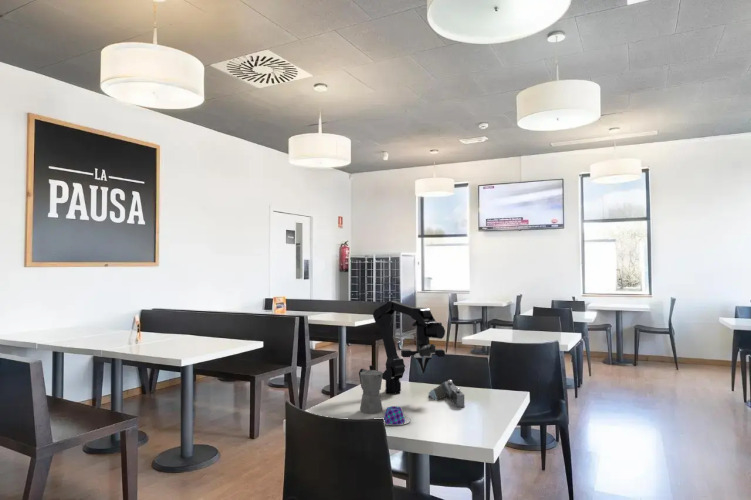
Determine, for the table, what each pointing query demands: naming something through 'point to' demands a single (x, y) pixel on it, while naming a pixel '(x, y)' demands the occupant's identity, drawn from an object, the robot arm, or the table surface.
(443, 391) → the chocolate cake
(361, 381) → the coffeepot
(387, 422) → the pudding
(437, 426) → the table surface
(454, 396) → the stop rail
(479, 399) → the table surface
